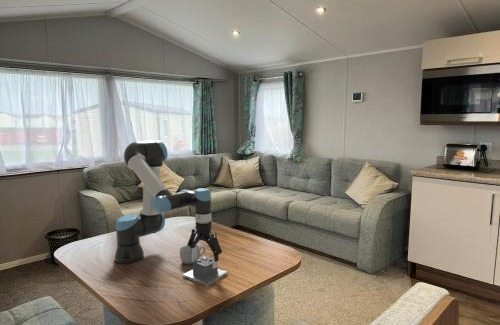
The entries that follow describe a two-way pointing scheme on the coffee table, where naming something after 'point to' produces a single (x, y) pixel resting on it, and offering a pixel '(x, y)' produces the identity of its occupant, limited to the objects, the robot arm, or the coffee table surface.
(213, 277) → the grey plate with post
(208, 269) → the grey square hollow block
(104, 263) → the coffee table surface
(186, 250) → the teacup
